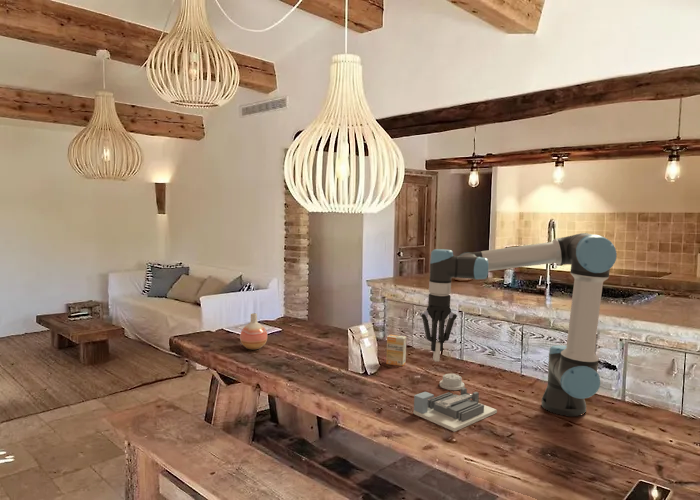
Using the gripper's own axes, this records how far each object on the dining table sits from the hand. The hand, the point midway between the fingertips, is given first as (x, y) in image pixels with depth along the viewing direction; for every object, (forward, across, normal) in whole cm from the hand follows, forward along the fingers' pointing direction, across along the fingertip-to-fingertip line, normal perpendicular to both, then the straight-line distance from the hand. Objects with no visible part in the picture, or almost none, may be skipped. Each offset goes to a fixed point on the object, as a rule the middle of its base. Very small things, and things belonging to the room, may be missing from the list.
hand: (436, 360), depth 178 cm
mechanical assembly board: (+19, -8, +1) cm, 21 cm away
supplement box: (+20, +1, -55) cm, 59 cm away
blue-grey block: (+18, +4, 0) cm, 18 cm away
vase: (+21, +68, -86) cm, 112 cm away
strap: (+15, -8, +1) cm, 17 cm away
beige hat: (+20, -15, -25) cm, 36 cm away
